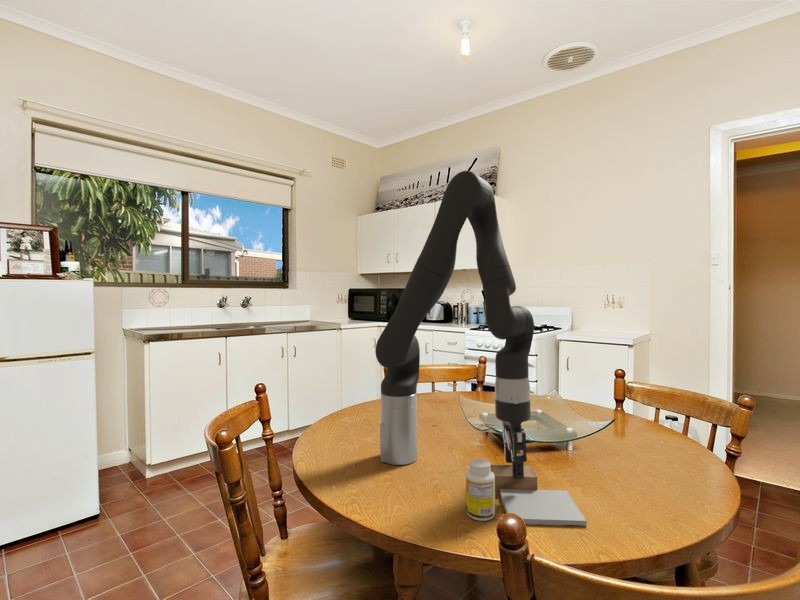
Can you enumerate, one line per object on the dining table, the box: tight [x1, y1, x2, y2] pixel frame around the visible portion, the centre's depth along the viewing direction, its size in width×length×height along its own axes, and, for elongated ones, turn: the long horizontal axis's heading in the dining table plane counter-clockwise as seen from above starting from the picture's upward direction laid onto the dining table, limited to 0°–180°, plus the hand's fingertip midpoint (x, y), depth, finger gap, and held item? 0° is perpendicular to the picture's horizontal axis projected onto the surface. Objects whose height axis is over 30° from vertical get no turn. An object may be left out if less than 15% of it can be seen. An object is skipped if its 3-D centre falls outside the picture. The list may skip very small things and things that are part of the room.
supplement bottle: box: [465, 458, 496, 522], centre depth 84 cm, size 6×6×10 cm
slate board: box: [499, 489, 588, 527], centre depth 86 cm, size 14×12×1 cm
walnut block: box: [491, 464, 538, 494], centre depth 96 cm, size 10×6×4 cm, turn 84°
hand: (514, 470), depth 96 cm, fingers open, 8 cm apart
